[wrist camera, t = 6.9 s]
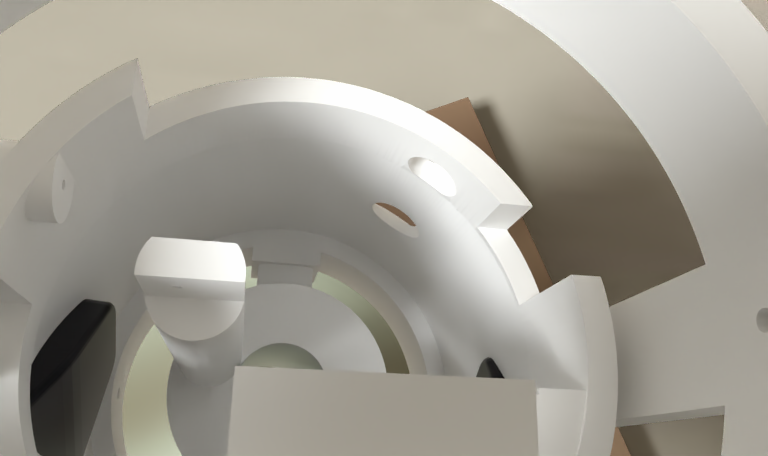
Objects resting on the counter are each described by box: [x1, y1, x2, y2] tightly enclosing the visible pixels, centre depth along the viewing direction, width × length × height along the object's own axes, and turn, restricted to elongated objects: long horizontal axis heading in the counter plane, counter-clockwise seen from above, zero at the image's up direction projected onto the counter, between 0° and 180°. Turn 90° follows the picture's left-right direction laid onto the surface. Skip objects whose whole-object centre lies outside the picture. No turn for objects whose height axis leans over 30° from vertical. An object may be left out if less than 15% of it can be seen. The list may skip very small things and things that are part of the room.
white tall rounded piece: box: [0, 0, 768, 456], centre depth 10 cm, size 7×7×15 cm
